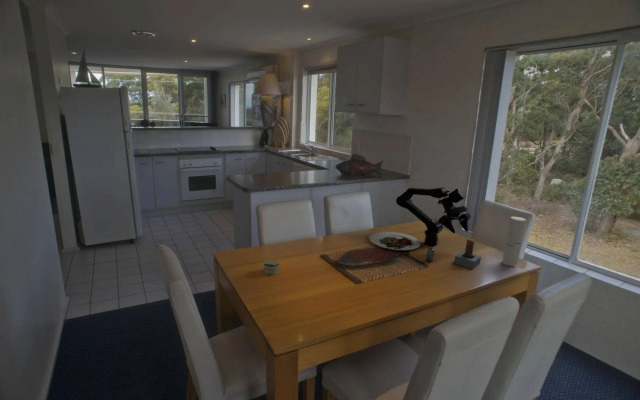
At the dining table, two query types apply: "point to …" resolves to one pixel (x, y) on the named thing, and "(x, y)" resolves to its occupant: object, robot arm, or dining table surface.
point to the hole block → (467, 260)
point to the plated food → (394, 240)
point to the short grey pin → (430, 254)
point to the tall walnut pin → (469, 248)
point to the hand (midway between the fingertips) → (460, 232)
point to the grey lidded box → (271, 266)
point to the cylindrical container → (513, 241)
